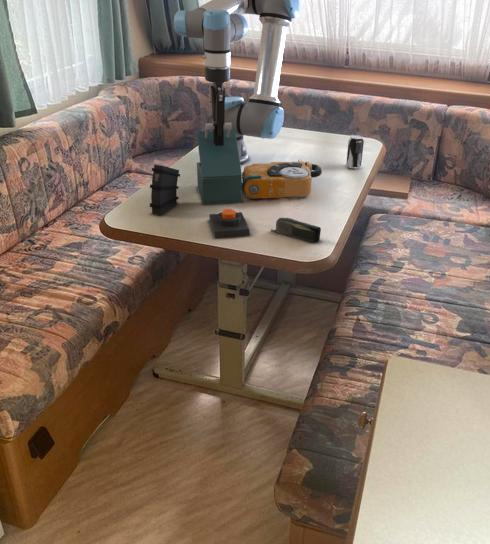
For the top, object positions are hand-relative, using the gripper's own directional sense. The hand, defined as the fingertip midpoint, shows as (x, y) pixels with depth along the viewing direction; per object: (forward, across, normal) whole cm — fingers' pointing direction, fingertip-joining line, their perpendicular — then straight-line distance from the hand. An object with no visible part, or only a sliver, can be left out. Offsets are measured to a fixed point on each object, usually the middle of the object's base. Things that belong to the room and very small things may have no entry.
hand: (218, 143), depth 183 cm
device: (+18, -4, +23) cm, 29 cm away
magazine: (+18, +6, -18) cm, 26 cm away
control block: (+18, +24, -1) cm, 30 cm away
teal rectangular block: (+18, -2, 0) cm, 18 cm away
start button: (+14, +24, -1) cm, 28 cm away
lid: (+4, -1, 0) cm, 4 cm away
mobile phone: (+18, +33, +17) cm, 41 cm away
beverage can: (+18, -21, +55) cm, 62 cm away
